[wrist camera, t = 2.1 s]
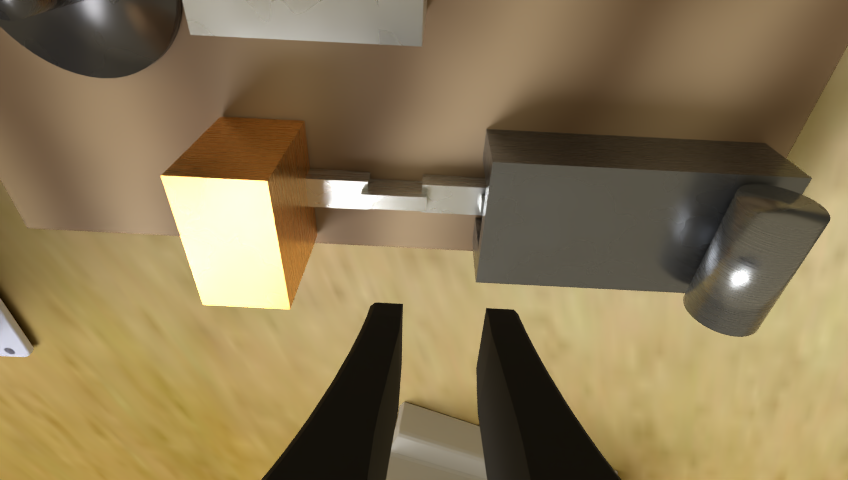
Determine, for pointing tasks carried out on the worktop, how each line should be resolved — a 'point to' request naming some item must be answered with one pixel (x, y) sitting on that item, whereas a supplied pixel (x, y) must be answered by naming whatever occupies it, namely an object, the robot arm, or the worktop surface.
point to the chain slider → (277, 207)
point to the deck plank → (413, 101)
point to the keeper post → (94, 32)
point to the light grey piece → (435, 447)
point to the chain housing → (647, 219)
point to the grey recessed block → (311, 20)
